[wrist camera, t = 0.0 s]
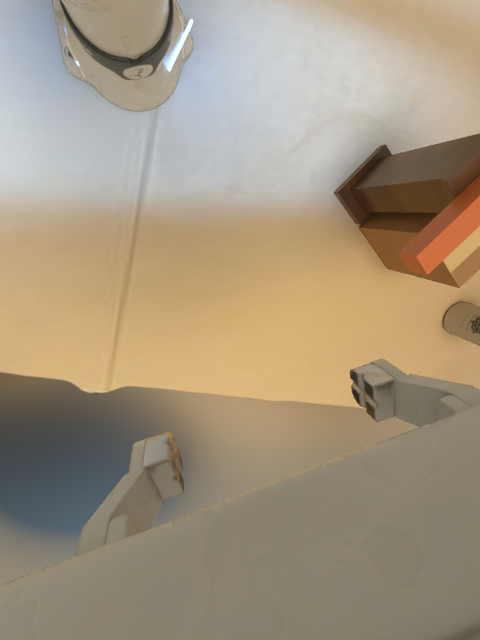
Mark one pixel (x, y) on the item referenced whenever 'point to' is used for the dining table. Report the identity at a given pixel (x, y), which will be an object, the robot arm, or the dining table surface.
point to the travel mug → (464, 322)
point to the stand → (411, 179)
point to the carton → (400, 228)
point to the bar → (444, 232)
